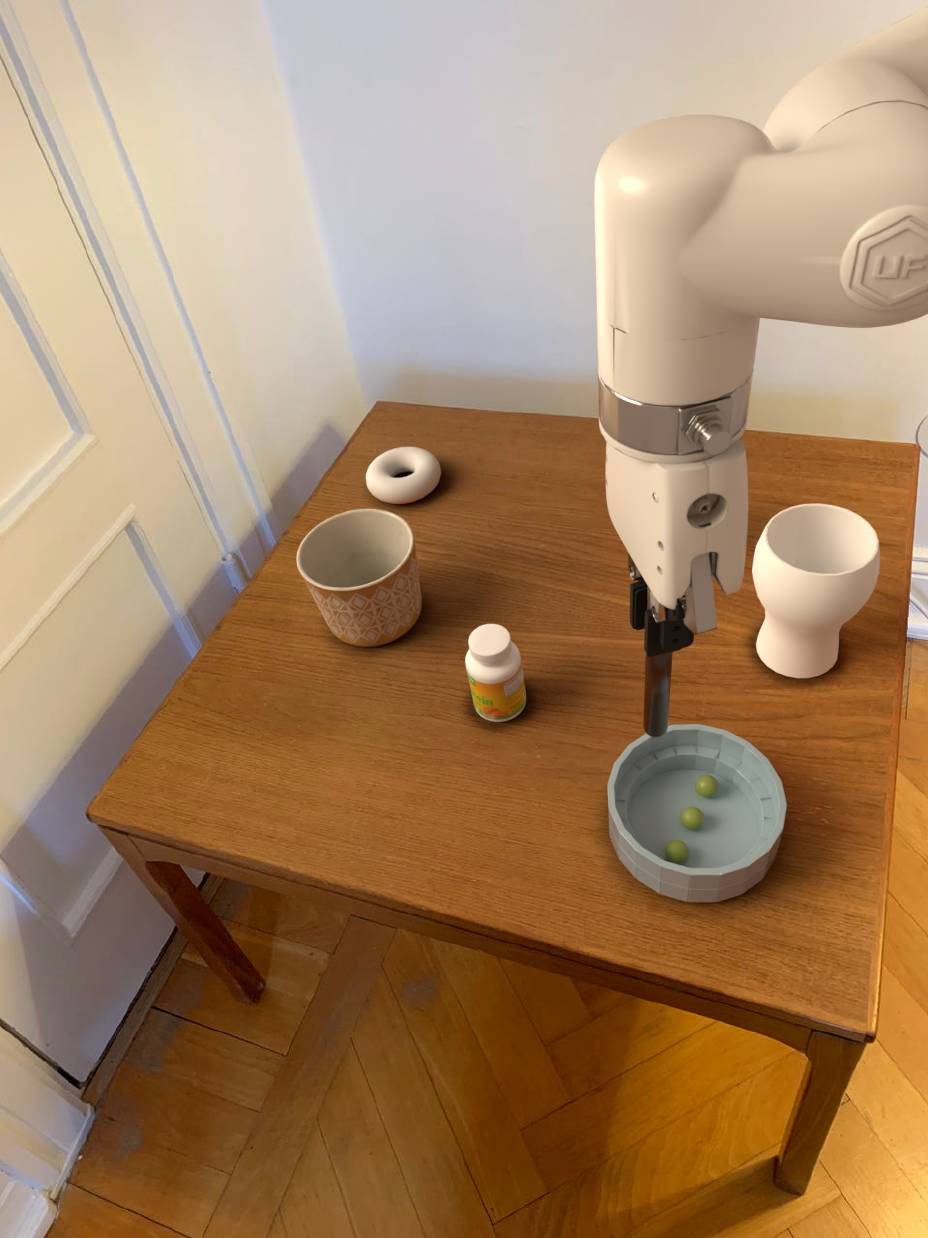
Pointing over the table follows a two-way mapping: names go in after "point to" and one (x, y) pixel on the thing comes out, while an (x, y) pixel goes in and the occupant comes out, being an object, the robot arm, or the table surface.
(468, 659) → the supplement bottle
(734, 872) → the bowl
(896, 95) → the robot arm
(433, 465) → the donut
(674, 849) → the pea
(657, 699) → the stick
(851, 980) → the table surface
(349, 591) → the planter
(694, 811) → the pea
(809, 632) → the cup
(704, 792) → the pea
